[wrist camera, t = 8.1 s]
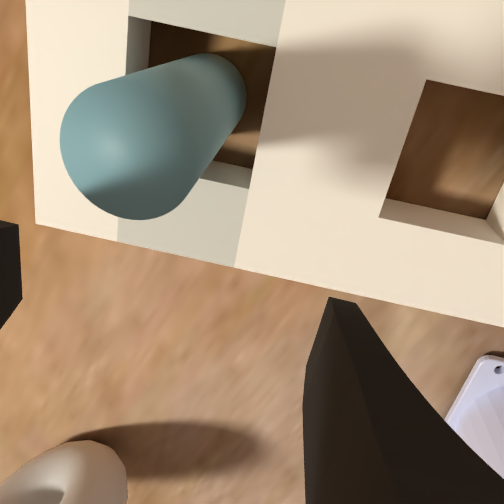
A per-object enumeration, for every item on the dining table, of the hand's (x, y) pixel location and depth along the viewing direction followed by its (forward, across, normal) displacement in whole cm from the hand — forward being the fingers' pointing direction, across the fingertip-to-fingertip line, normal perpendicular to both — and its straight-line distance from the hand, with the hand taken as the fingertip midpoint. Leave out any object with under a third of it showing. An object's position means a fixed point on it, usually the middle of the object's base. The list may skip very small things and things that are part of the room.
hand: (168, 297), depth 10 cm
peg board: (+10, -3, -3) cm, 11 cm away
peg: (+10, +2, -3) cm, 11 cm away
